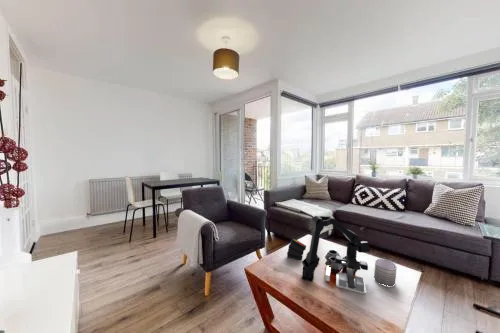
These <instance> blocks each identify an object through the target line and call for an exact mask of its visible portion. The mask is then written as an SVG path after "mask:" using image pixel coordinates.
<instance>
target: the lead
mask: <svg viewBox="0 0 500 333" xmlns="http://www.w3.org/2000/svg"><path fill="white" fill-rule="evenodd" d="M346 268H347V275H346V276H347V279H348V286H349V288H352V289H353V288H354V287H355V284H354V276H355V275H354V276H353V271H354V269H351V268H348V267H346Z"/></svg>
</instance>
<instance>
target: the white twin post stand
mask: <svg viewBox="0 0 500 333" xmlns="http://www.w3.org/2000/svg"><path fill="white" fill-rule="evenodd" d="M354 276H355V278H354V284H355V287H354V288H353V289H352V288H349V286H348V279H347V275H346V273H345V272H341V271H339V272H338V273H336V276H335V277H336V278H335V279H336V280H335V285H336V286H335V287H336V288H341V289H345V290H347V291H352V292H356V293H360V294H363V293H364V294H363V295H366V294H368V292H367V287H366V283H365V280H364V278H363V277H361V276H357V275H354Z"/></svg>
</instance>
